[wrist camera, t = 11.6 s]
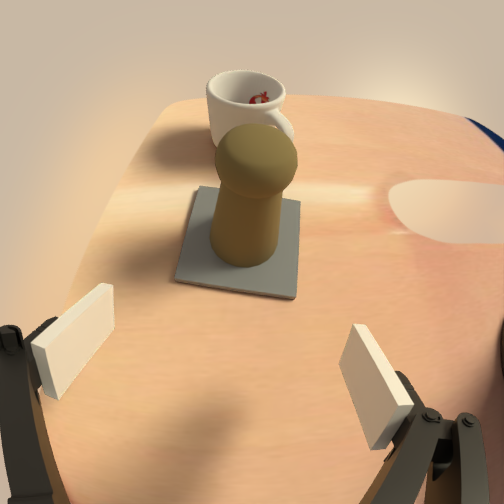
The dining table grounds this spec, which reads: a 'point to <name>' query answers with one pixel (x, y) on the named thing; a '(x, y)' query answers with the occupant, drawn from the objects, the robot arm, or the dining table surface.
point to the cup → (245, 102)
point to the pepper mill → (250, 193)
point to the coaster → (231, 277)
